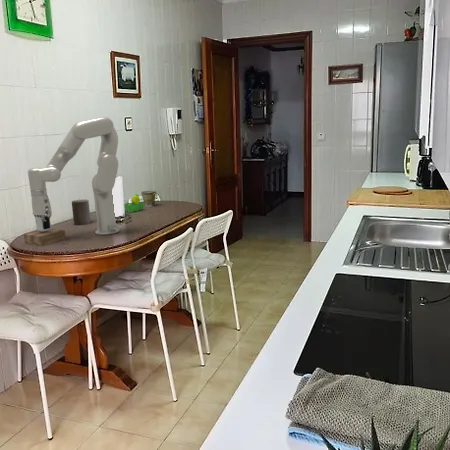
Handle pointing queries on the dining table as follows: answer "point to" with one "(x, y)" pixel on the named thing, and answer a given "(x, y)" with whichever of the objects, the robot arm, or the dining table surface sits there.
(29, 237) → the walnut block
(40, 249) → the dining table surface
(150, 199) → the ceramic cup
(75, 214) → the pillar candle
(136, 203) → the fruit basket
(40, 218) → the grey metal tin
